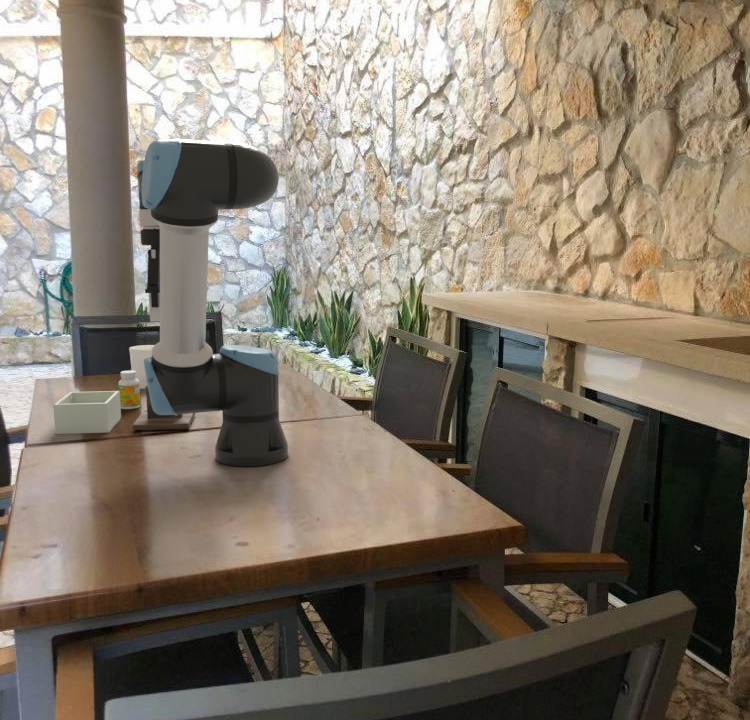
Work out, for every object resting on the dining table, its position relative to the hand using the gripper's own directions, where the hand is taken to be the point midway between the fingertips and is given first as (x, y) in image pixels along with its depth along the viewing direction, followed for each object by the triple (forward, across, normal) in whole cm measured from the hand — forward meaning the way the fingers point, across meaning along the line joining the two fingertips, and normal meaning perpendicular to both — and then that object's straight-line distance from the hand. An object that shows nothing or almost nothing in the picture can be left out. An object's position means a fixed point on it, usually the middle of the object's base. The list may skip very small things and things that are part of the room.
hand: (160, 318), depth 180 cm
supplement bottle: (+26, +19, +12) cm, 35 cm away
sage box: (+26, 0, +18) cm, 32 cm away
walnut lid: (+26, 0, 0) cm, 26 cm away
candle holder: (+26, +47, +12) cm, 55 cm away
